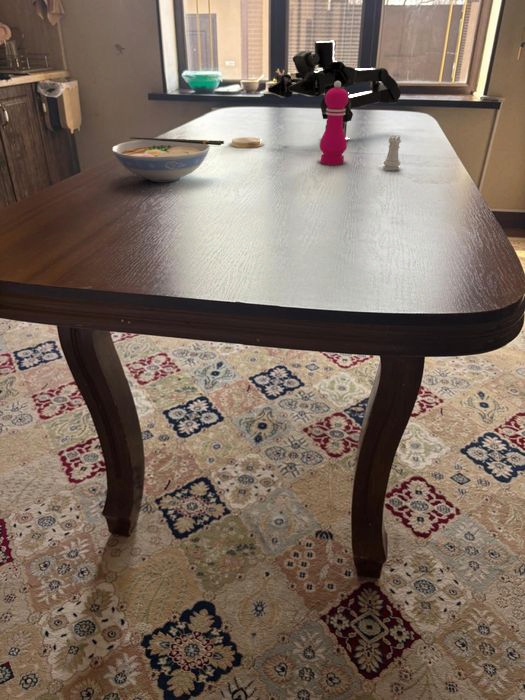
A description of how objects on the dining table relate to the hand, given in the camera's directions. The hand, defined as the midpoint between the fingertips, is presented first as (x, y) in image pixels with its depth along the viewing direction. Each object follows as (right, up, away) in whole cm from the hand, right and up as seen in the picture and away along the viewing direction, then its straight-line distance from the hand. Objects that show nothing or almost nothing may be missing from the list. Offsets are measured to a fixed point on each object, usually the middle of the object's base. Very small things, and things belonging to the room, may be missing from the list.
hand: (278, 89), depth 150 cm
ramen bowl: (-28, -34, -24) cm, 51 cm away
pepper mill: (+14, -24, -8) cm, 29 cm away
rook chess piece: (+29, -28, -14) cm, 43 cm away
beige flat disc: (-10, -10, +14) cm, 20 cm away
